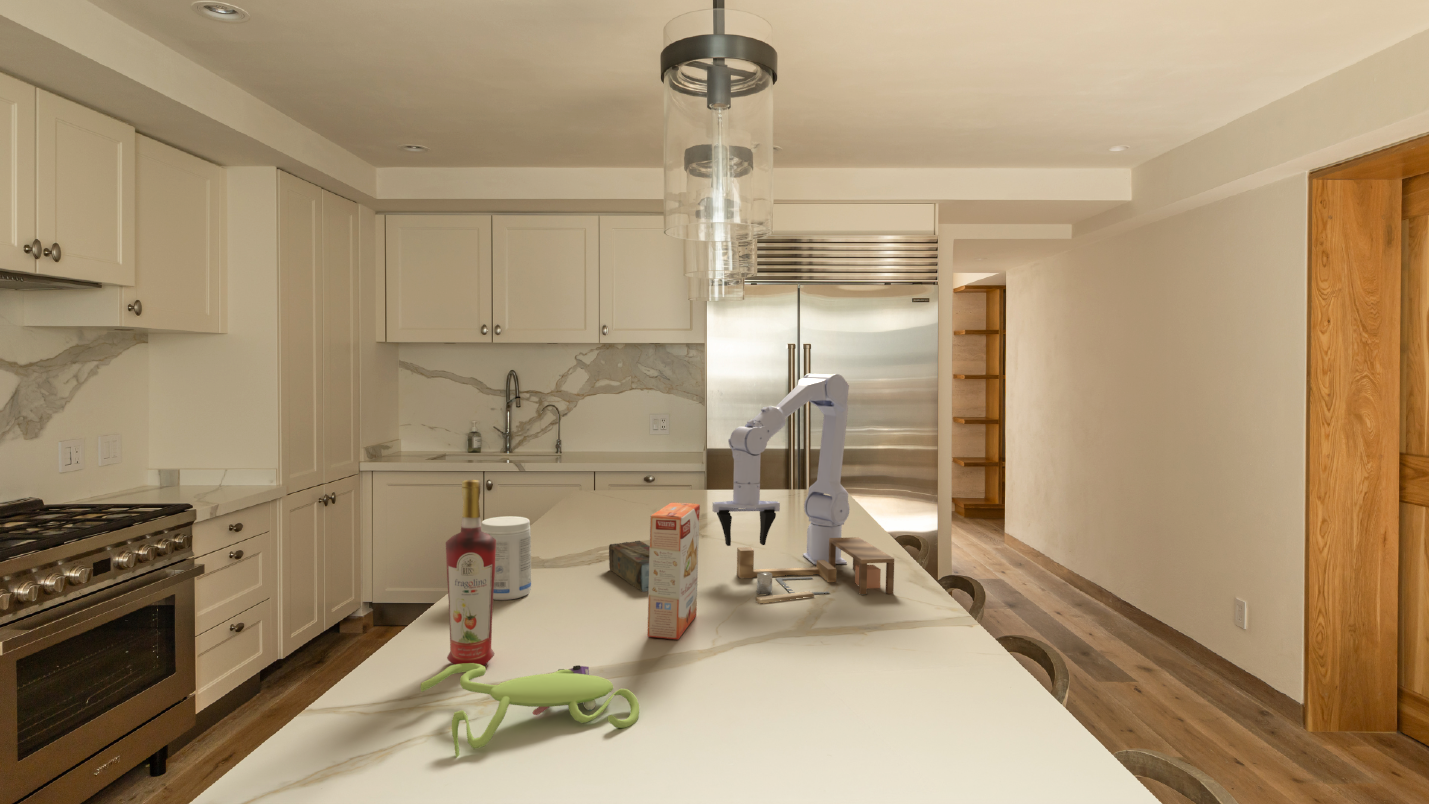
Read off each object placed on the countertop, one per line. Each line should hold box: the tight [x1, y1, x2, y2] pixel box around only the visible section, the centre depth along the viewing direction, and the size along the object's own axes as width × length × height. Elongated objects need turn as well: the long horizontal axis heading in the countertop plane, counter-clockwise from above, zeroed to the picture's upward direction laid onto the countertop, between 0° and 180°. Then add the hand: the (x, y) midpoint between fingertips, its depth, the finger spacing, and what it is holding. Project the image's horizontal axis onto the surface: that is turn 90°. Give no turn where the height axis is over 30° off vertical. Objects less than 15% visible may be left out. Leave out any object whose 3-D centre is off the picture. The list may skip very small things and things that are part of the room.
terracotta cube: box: [854, 564, 882, 589], centre depth 171 cm, size 4×4×4 cm
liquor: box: [445, 479, 496, 667], centre depth 123 cm, size 7×7×28 cm
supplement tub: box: [481, 515, 532, 601], centre depth 161 cm, size 10×10×15 cm
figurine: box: [420, 663, 640, 759], centre depth 107 cm, size 18×27×6 cm
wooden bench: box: [829, 536, 895, 595], centre depth 175 cm, size 20×7×7 cm, turn 11°
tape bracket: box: [775, 576, 830, 595], centre depth 170 cm, size 12×8×1 cm, turn 11°
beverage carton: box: [608, 540, 650, 593], centre depth 174 cm, size 8×19×7 cm, turn 28°
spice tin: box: [756, 572, 773, 595], centre depth 165 cm, size 3×3×4 cm
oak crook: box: [736, 546, 838, 583], centre depth 176 cm, size 20×9×6 cm, turn 101°
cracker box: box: [647, 502, 701, 640], centre depth 143 cm, size 14×6×21 cm, turn 168°
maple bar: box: [755, 590, 815, 604], centre depth 161 cm, size 2×12×1 cm, turn 114°
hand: (745, 544), depth 177 cm, fingers open, 7 cm apart
